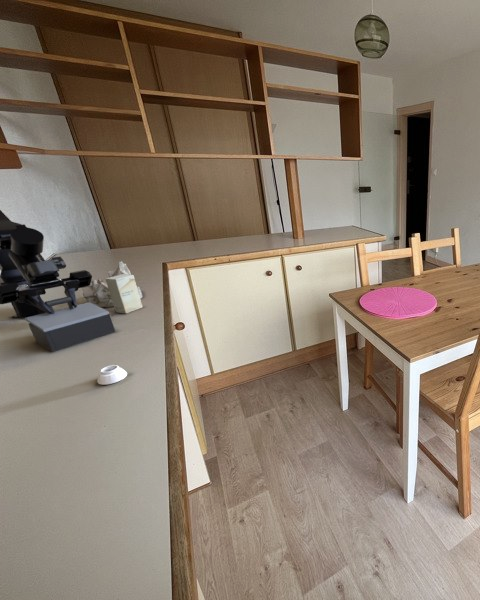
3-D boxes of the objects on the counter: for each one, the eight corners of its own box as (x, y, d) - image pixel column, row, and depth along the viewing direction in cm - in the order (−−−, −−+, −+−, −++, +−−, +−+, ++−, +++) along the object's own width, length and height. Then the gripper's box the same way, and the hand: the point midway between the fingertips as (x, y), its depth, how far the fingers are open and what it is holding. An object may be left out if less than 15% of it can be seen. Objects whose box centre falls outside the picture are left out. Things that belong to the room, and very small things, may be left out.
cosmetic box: (126, 314, 105) (115, 279, 101) (115, 312, 106) (103, 278, 102) (143, 307, 111) (134, 274, 107) (133, 306, 112) (123, 273, 107)
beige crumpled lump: (144, 289, 127) (131, 253, 121) (141, 303, 115) (125, 264, 109) (94, 298, 120) (77, 260, 113) (84, 314, 107) (64, 273, 101)
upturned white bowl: (129, 378, 72) (124, 370, 75) (126, 368, 71) (120, 360, 74) (101, 389, 68) (96, 380, 71) (96, 377, 67) (92, 369, 70)
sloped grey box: (36, 342, 86) (28, 323, 84) (98, 324, 98) (92, 307, 96) (52, 352, 82) (44, 332, 80) (115, 331, 93) (109, 314, 91)
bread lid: (25, 320, 84) (19, 305, 83) (90, 304, 96) (85, 290, 94) (44, 332, 80) (37, 316, 78) (109, 313, 91) (104, 299, 89)
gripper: (-22, 255, 76) (13, 307, 76) (78, 243, 92) (108, 286, 91) (-19, 279, 82) (14, 327, 82) (75, 264, 98) (103, 304, 98)
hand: (63, 310), depth 88 cm, fingers closed on bread lid, 5 cm apart
